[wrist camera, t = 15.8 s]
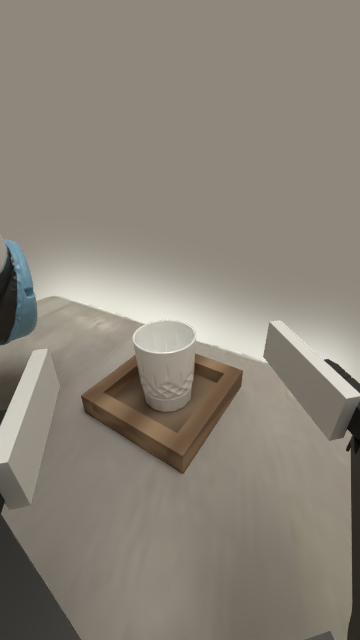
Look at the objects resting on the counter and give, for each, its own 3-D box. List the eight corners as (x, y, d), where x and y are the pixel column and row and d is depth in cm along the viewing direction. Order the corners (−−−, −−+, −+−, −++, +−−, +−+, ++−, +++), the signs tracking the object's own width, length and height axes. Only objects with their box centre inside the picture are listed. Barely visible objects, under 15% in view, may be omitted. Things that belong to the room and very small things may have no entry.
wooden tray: (85, 411, 37) (81, 395, 36) (157, 353, 49) (156, 339, 47) (183, 473, 29) (182, 456, 28) (241, 386, 41) (242, 370, 39)
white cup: (129, 394, 39) (120, 334, 34) (170, 369, 43) (167, 314, 39) (165, 426, 34) (160, 362, 29) (207, 394, 38) (209, 334, 33)
